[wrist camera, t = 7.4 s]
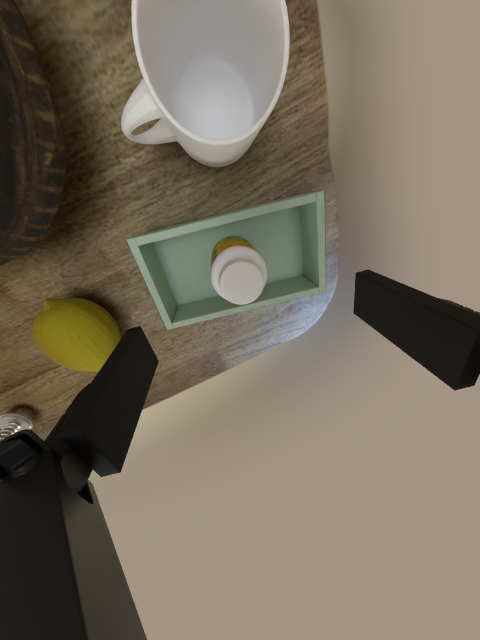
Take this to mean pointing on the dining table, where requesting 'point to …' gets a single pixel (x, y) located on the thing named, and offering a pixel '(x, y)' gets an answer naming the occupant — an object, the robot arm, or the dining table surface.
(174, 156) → the dining table surface
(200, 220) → the bin
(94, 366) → the lemon
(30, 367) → the dining table surface
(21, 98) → the ceramic pot
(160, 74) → the mug
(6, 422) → the screw
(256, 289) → the supplement bottle
